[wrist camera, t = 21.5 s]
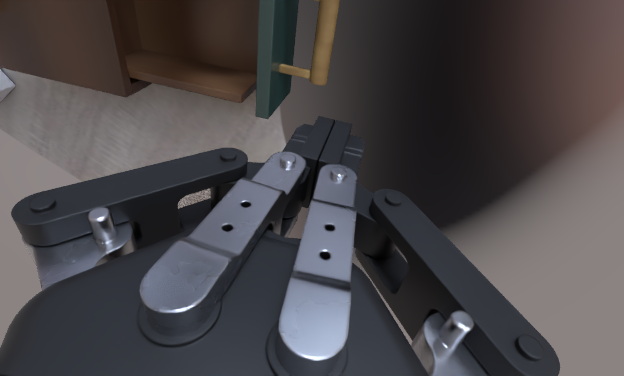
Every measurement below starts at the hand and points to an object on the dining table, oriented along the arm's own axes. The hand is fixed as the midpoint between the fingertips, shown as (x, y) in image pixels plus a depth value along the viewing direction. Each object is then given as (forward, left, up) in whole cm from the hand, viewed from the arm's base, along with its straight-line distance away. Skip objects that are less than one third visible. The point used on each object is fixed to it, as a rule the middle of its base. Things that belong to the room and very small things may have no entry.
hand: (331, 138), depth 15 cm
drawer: (+4, -13, -20) cm, 24 cm away
